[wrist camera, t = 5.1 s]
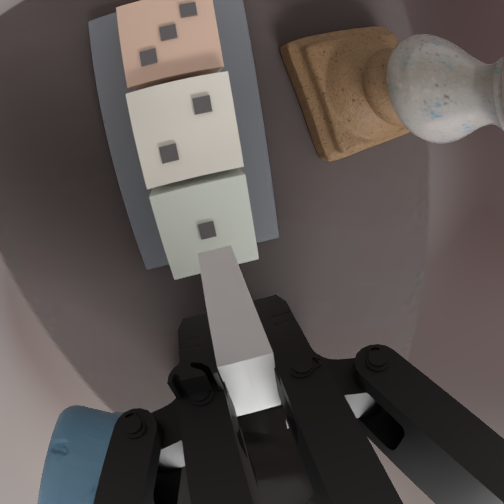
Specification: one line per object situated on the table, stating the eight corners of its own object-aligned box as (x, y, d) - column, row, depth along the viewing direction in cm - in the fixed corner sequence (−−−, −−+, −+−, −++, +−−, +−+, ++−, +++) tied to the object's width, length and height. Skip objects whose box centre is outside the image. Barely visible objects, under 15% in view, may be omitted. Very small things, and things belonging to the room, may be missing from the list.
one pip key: (248, 238, 24) (259, 260, 20) (174, 256, 23) (174, 281, 20) (235, 164, 21) (246, 175, 18) (153, 183, 20) (148, 197, 17)
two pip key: (234, 158, 20) (244, 167, 17) (152, 177, 20) (146, 190, 16) (220, 78, 18) (228, 70, 14) (134, 97, 17) (124, 93, 14)
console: (275, 232, 27) (288, 250, 24) (147, 263, 26) (144, 286, 22) (237, -6, 17) (247, -23, 14) (92, 25, 15) (78, 12, 12)
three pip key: (217, 73, 18) (224, 65, 15) (135, 91, 18) (126, 87, 14) (205, 4, 16) (210, -14, 12) (125, 22, 15) (115, 6, 11)
